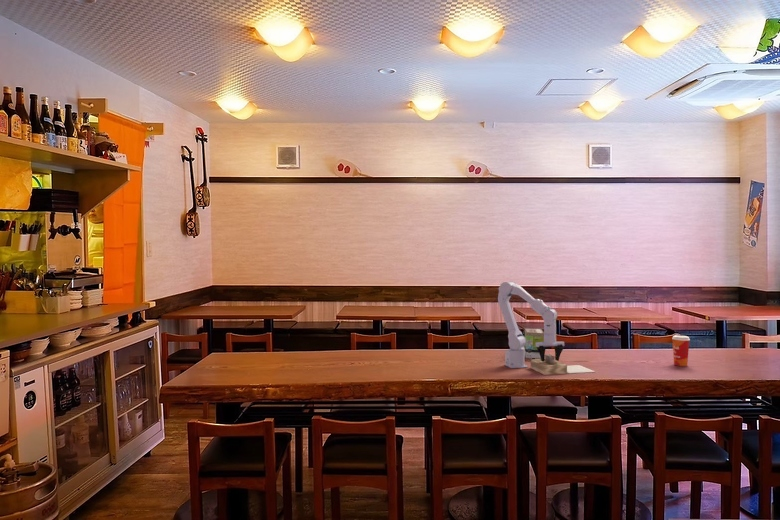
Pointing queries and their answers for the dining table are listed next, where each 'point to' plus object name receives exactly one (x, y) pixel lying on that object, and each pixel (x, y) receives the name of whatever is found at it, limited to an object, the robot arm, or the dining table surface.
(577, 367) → the mat
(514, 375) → the dining table surface
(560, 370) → the case
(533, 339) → the tea box
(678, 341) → the coffee cup
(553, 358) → the lid
